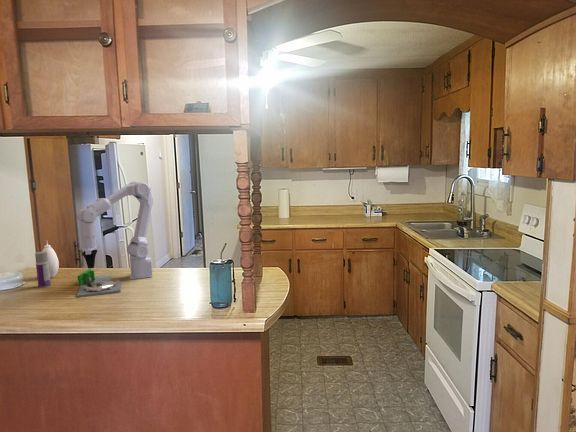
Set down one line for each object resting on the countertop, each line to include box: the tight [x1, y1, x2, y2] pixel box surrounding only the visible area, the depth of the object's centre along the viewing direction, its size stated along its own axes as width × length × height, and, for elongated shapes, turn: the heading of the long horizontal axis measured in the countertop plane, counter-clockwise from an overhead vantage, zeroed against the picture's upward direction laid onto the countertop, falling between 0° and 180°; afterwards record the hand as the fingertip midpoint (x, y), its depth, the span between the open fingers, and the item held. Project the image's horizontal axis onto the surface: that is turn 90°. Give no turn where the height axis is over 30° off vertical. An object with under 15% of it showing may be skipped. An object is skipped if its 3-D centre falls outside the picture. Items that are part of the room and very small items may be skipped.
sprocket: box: [83, 277, 116, 292], centre depth 171 cm, size 12×12×4 cm
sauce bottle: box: [41, 240, 60, 279], centre depth 190 cm, size 8×8×18 cm
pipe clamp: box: [77, 268, 96, 287], centre depth 183 cm, size 11×4×5 cm, turn 3°
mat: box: [93, 275, 112, 283], centre depth 185 cm, size 7×13×1 cm, turn 22°
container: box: [34, 251, 52, 289], centre depth 177 cm, size 5×5×15 cm
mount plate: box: [76, 280, 122, 298], centre depth 171 cm, size 16×15×1 cm
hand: (91, 267), depth 174 cm, fingers closed
